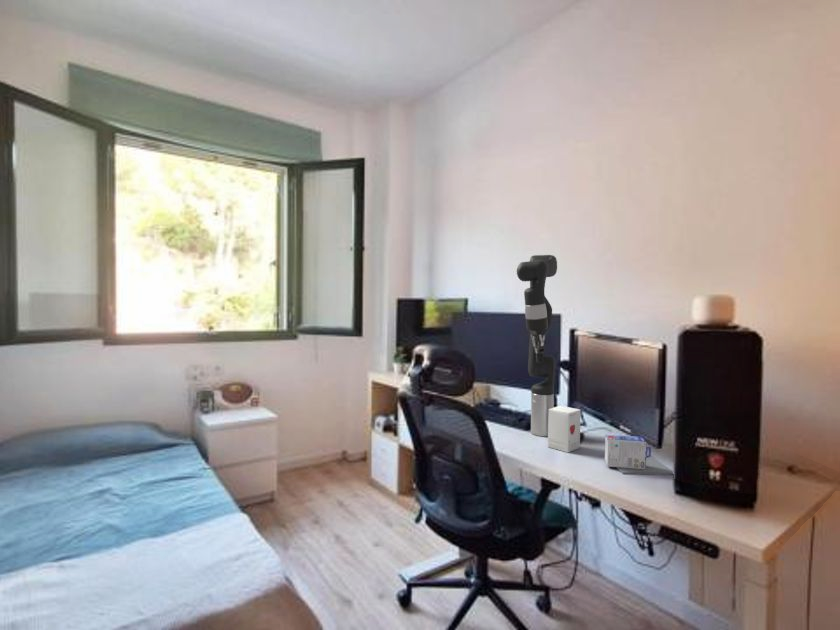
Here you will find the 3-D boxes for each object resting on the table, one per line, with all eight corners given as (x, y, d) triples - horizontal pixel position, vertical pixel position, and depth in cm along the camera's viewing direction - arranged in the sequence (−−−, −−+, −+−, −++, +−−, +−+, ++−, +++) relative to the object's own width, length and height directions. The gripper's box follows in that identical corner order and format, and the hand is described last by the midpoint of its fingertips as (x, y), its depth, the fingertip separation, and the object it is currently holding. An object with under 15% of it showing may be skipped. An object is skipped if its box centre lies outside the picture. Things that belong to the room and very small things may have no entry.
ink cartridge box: (604, 460, 159) (649, 464, 155) (606, 467, 154) (653, 471, 150) (605, 433, 158) (650, 436, 154) (607, 439, 153) (654, 442, 149)
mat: (603, 456, 165) (604, 455, 165) (651, 457, 164) (651, 455, 164) (622, 474, 149) (622, 472, 149) (675, 474, 149) (675, 472, 148)
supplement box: (568, 453, 169) (568, 413, 168) (547, 447, 175) (547, 408, 175) (580, 447, 175) (581, 409, 174) (559, 442, 181) (560, 405, 181)
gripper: (551, 317, 157) (555, 366, 160) (542, 312, 171) (546, 357, 173) (529, 320, 158) (534, 368, 160) (522, 314, 171) (526, 359, 173)
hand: (540, 362), depth 167 cm, fingers closed
